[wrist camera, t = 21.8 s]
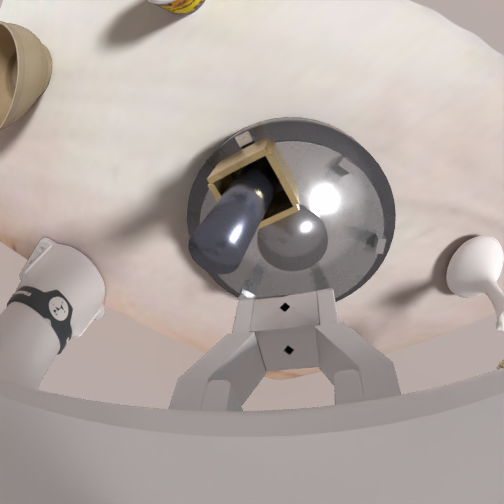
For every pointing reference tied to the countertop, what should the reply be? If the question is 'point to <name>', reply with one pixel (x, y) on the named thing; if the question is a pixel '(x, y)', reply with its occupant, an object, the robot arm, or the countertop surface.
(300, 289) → the grey round disc
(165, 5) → the supplement bottle
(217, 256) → the pin
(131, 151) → the countertop surface
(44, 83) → the planter bowl
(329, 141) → the housing
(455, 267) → the flower in vase
